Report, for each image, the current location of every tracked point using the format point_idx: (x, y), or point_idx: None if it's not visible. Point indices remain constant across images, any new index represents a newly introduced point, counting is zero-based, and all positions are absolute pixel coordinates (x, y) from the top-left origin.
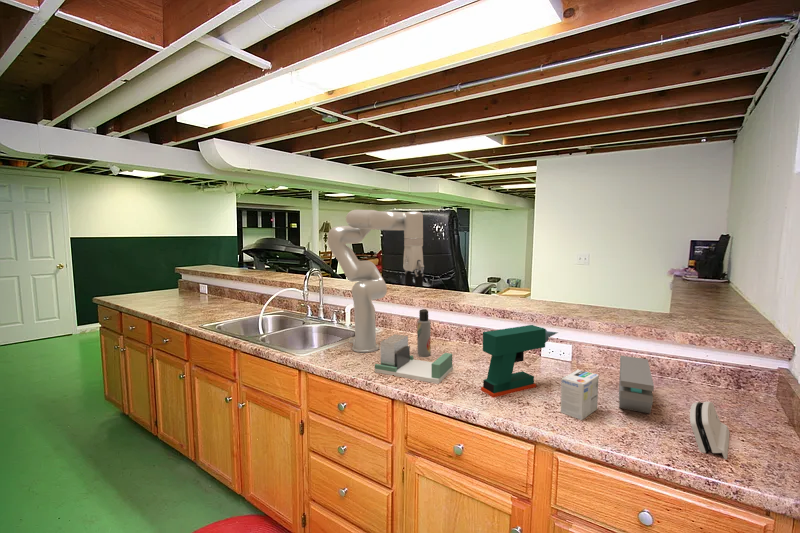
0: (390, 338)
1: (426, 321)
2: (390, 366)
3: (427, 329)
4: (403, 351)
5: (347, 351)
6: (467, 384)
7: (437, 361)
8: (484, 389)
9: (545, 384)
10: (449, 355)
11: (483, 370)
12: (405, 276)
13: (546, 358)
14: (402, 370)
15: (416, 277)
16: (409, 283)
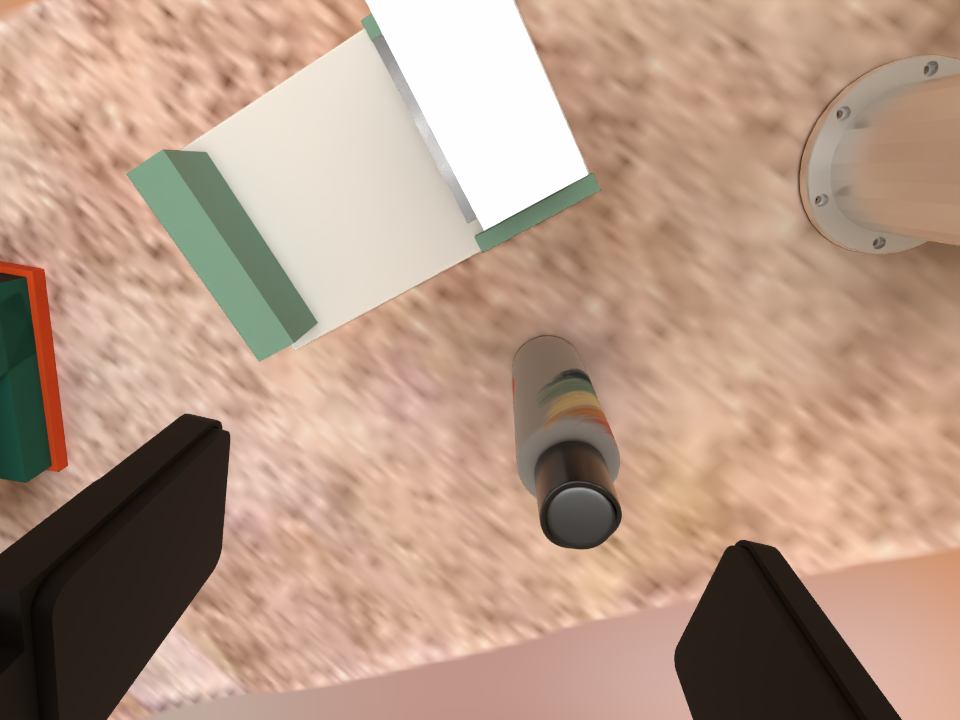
0: (509, 66)
1: (533, 465)
2: None
3: (516, 433)
4: (421, 133)
5: (950, 17)
6: (118, 267)
7: (184, 206)
8: (10, 267)
9: (7, 496)
10: (240, 329)
11: None
12: (869, 694)
13: (217, 688)
14: (369, 81)
15: (1, 590)
16: (705, 601)
